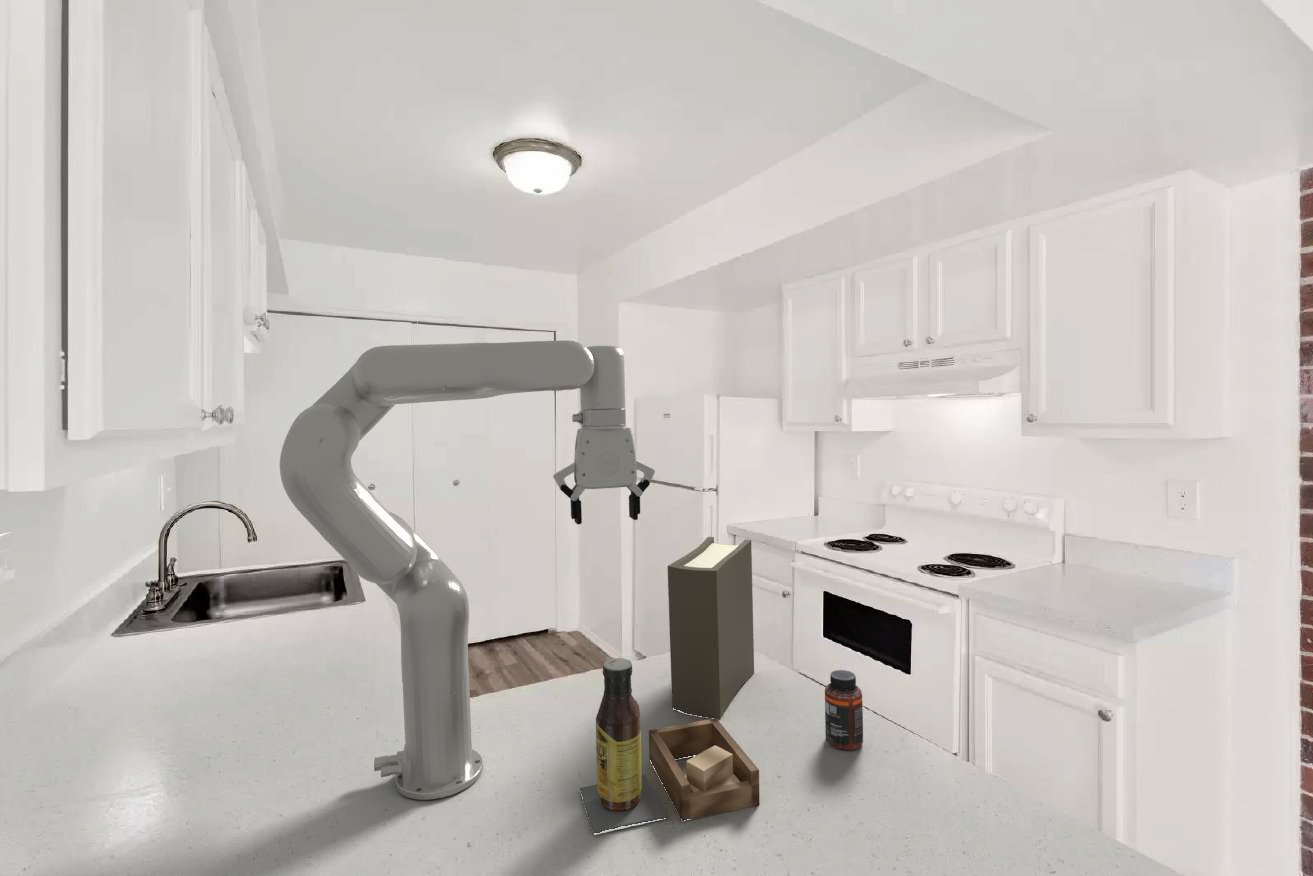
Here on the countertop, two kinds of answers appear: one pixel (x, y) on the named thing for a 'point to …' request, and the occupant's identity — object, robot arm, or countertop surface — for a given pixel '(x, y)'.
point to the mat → (612, 819)
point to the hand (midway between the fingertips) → (606, 520)
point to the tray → (693, 742)
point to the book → (710, 627)
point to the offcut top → (709, 768)
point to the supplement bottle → (843, 711)
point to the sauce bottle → (618, 739)
